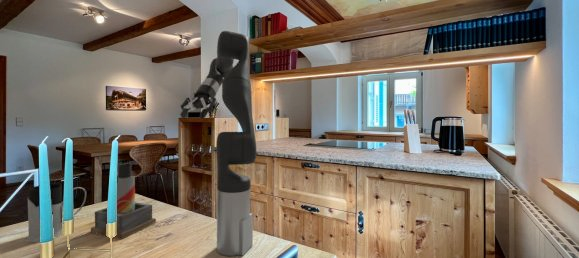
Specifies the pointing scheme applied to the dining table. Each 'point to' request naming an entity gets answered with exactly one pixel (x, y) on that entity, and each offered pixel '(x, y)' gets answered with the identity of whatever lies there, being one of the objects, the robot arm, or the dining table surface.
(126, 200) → the lotion bottle
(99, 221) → the dark grey open box
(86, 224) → the dining table surface
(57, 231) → the grey mug
